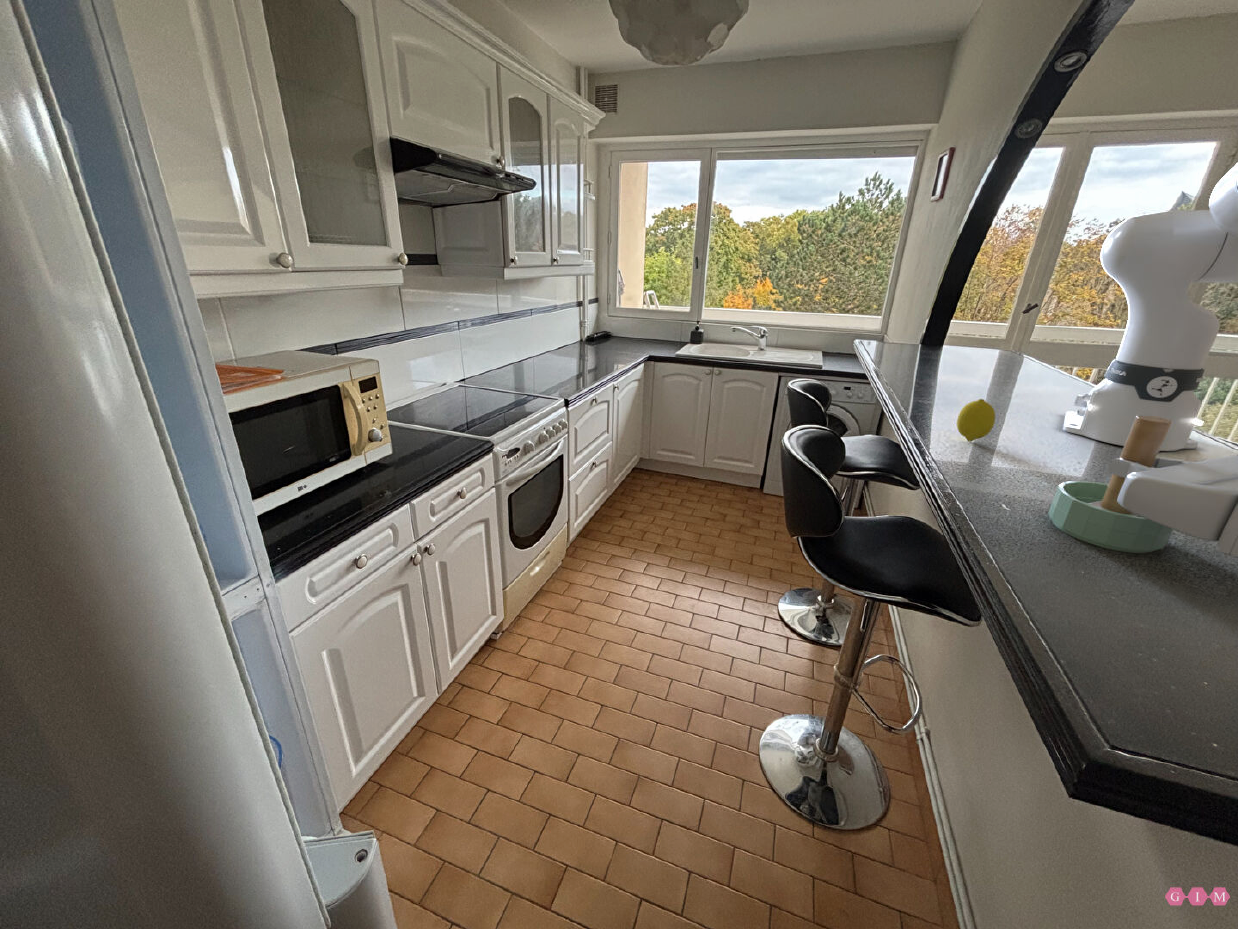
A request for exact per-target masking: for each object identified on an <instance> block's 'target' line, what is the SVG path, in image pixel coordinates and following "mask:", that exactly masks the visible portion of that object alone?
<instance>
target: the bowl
mask: <svg viewBox="0 0 1238 929" xmlns="http://www.w3.org/2000/svg"><path fill="white" fill-rule="evenodd" d="M1108 485H1109V483H1102V482H1097V481H1086V480H1070V481H1063V482H1061V483H1060V484H1059V485H1057V489H1056V491H1055V494H1054V496H1053V498H1052V502H1051V504H1050V507H1049V510H1048V513H1047V514H1048V516H1049V519H1050V521H1051V522H1052V524H1053V525H1054V526H1055V527H1056V528H1057V529H1059V530H1060V531H1061V532H1063V533H1065V534H1067V535H1069V536H1071V537H1073V538H1075V539H1077V540H1080V541H1083V542H1085V543H1088V544H1090V545H1094V546H1097V547H1101V548H1105V549H1108V550H1113V551H1119V552H1124V553H1132V554H1148V553H1152V552H1155V551H1158V550H1163V549H1165V547H1166V545H1167V543H1168V541H1169V539H1170V537H1171V535H1172V533H1173V531H1174V530H1173V529H1170V528H1168V527H1165V526H1163V525H1160V524H1158V523H1155V522H1153V521H1150V520H1148V519H1145V518H1143V517H1137V516H1131V515H1126V514H1120V513H1116V512H1112V511H1109V510H1105V509H1102V508H1098V507H1095V506H1092V505H1090V504H1088V503H1093V502H1098V501H1102V500H1103V497H1104V495H1105V492H1106V490H1107V487H1108Z"/></svg>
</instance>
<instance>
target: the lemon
mask: <svg viewBox="0 0 1238 929" xmlns="http://www.w3.org/2000/svg"><path fill="white" fill-rule="evenodd" d="M995 422H996V412H995V409H994V407H993V406H992V405H991V404H990V403H989V402H987V401H986V400H985V399H983V398H979V399H977V400H972V401H970V402H968V403H967V404H965V405H964V406H963V407H962V408H961V410H960V412H959V413H958V416H957V419H956V428H957V431H958V432H959V434H960V435H961V436H962V437H964V438H965V439H966V441H968V442H973V441H975V440H979V439H981V438H985V437H986V436H988V435H989V434H990V432H991V431H992V429H993V428H994V425H995Z"/></svg>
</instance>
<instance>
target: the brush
mask: <svg viewBox="0 0 1238 929" xmlns="http://www.w3.org/2000/svg"><path fill="white" fill-rule="evenodd" d="M1171 423H1172V421H1170V420H1167V419H1164V418H1159V417H1153V416H1136V419H1135V421H1134V423H1133V426H1132V428H1131V431H1130V433H1129V436H1128V438H1127V441H1126V443H1125V446H1123V448H1122V451H1121V453H1120V456H1119V458H1127V459H1130V460H1135V461H1138V462H1139V464H1141V465H1143V466H1146V467H1149V468H1152V467H1153V464H1154V462H1155V460H1156V457H1158V456H1159V452H1160V448H1161V446H1162V444H1163V441H1164V439H1165V437H1166V434H1167V432H1168V430H1169V428H1170V425H1171ZM1124 481H1125V478H1123V477H1120V476H1117V475H1114V474H1111V477H1110V479H1109V483H1108V484H1109V485H1108V487H1107V490H1106V492H1105V495H1104V497H1103V500H1102V501H1098V502H1093V503H1088V504H1090V505H1092V506H1095V507H1098V508H1102V509H1105V510H1109V511H1112V512H1116V513H1120V514H1126V515H1131V516H1137V517H1141V516H1138V515H1136V514H1134V513H1131V512H1130V511H1128V510H1126V509H1125V508H1123V507H1122V506H1121V505H1120V504H1119V503H1118V502H1117V499H1118V496H1119V493H1120V491H1121V488H1122V486H1123V484H1124Z"/></svg>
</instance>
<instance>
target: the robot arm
mask: <svg viewBox="0 0 1238 929" xmlns="http://www.w3.org/2000/svg"><path fill="white" fill-rule="evenodd" d="M1101 247H1102V248H1101V250H1100V262H1101V266H1102V268H1103V270H1104V272H1106V274H1107V275H1108V276H1110V277H1111V278H1112V279H1113V280H1114V281H1115V282H1117V284H1118V286H1120V288H1121V289H1122V291H1123V292H1124V295H1125V298H1126V301H1127V306H1128V316H1127V317H1128V318H1127V319H1128V320H1127V323H1126V327H1125V330H1124V335H1123V338H1122V340H1121V344H1120V346H1119V349H1118V352H1117V355H1116V358H1114V359H1113V360H1112V361H1111V363H1110V365H1109V366H1107V368H1106V372H1105V374H1104V376H1103V377H1104V379H1103V380H1102V381H1101V382H1099V383H1098V384H1097V385H1096V386H1094V388H1092V389H1091V390H1090V391H1089V392H1088V393H1084V394H1077V395H1076V397H1075V401H1074V405H1073V406H1074V407H1079V409H1078V410H1077V411H1067V412H1066V414H1065V415H1064V420H1063V425H1062V431H1064V432H1068V433H1072V434H1074V435H1075V434H1076V435H1080V436H1083V437H1087V438H1090V439H1093V440H1096V441H1100V442H1104V443H1106V444H1107V443H1108V444H1112V445H1117V446H1121V447H1124V446H1125V443H1126V441H1127V438H1128V436H1129V433H1130V431H1131V428H1132V426H1133V423H1134V421H1135V419H1136V416H1153V417H1159V418H1164V419H1167V420H1170V421H1172V423H1171V425H1170V428H1169V430H1168V432H1167V434H1166V437H1165V439H1164V441H1163V444H1162V446H1161V448H1160V451H1163V452H1165V451H1166V452H1171V451H1173V452H1174V451H1179V450H1182V449H1197V446H1198V442H1197V441H1196V440H1193V439H1191V438H1190V437H1191V435H1192V433H1193V432H1192V431H1193V429H1194V427H1195V426H1198V427H1202V426H1203V424H1204V421H1203V420H1201V419H1198V415H1199V413H1200V410H1201V407H1202V401H1201V400H1200V399H1199V398H1198V397H1197V396H1196V395H1195V393H1194V392H1195V390H1197V389H1198V388H1199V386H1200V383H1201V382H1202V381H1203V378H1204V373H1205V369H1204V368H1203V367H1204V366H1205V363H1206V360H1207V359H1208V356H1209V354H1210V352H1211V349H1212V347H1213V345H1214V342H1215V340H1216V338H1217V336H1218V334H1219V332H1220V327H1221V326H1220V320H1219V318H1218V317H1217V315H1215V314H1214V313H1213V311H1211V310H1209V309H1207V308H1206V307H1203V306H1202V305H1200V304H1198V303H1195V302H1193V301H1192V300H1191V298H1190V295H1189V290H1190V285H1191V283H1213V284H1214V283H1217V284H1218V283H1219V284H1221V283H1222V284H1223V283H1224V284H1238V162H1237V163H1236V164H1235V165H1234V166H1233V167H1232V168H1231V169H1230V170H1229V171H1228V172H1227V173H1226V174H1225V175H1224V176H1223V177H1222V178H1221V179H1220V180H1219V181H1218V182H1217V183H1216V185H1215V187H1214V188H1213V190H1212V193H1211V194H1210V198H1209V201H1208V209H1186V210H1185V209H1183V210H1181V209H1180V210H1163V211H1162V210H1161V211H1157V212H1150V213H1145V214H1140V215H1135V216H1130V217H1128V218H1126V219H1125V220H1123V221H1122V222H1120V223H1119V224H1118V225H1116V227H1115V228H1114V229H1113V230H1112V231H1111V232H1110V233H1109V234H1108V236H1107V237H1106V239H1105V240H1104V242H1103V244H1102V246H1101ZM1160 451H1159V452H1160ZM1107 472H1108V473H1109V474H1111V475H1113V474H1114V475H1117V476H1120V477H1123V478H1125V481H1124V484H1123V486H1122V488H1121V491H1120V493H1119V496H1118V499H1117V502H1118V503H1119V504H1120V505H1121V506H1122V507H1123V508H1125V509H1126V510H1128V511H1130V512H1131V513H1134V514H1136V515H1138V516H1141V517H1143V518H1145V519H1148V520H1150V521H1153V522H1155V523H1158V524H1160V525H1163V526H1165V527H1168V528H1170V529H1173V531H1176V532H1178V533H1180V534H1184V535H1186V536H1189V537H1192V538H1195V539H1199V540H1202V541H1208V542H1217V543H1216V545H1215V547H1214V548H1215V550H1216V551H1217V552H1220V553H1221V554H1224V555H1227V556H1229V557H1233V558H1235V559H1238V454H1233V455H1228V456H1221V457H1216V458H1210V459H1205V460H1197V461H1190V460H1184V459H1175V458H1168V457H1161V456H1157V457H1156V460H1155V462H1154V464H1153V467H1152V468H1149V467H1146V466H1143V465H1141V464H1139V462H1138V461H1135V460H1130V459H1127V458H1120V457H1119V458H1113V459H1112V460H1110V463H1109V464H1108V468H1107Z"/></svg>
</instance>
